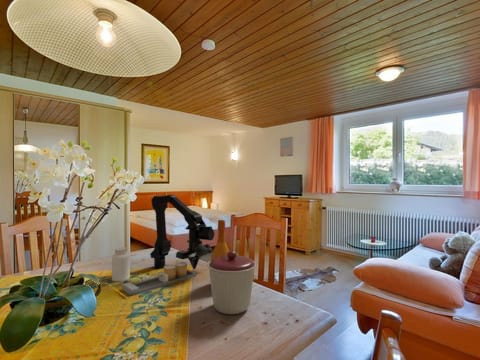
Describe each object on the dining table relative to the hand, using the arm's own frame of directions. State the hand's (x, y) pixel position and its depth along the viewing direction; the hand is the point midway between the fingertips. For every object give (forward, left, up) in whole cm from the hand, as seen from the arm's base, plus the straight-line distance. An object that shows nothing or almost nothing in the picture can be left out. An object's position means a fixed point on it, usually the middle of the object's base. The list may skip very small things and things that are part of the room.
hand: (194, 269), depth 134 cm
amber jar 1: (0, -14, -2) cm, 14 cm away
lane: (0, -18, -3) cm, 18 cm away
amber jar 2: (0, -8, -2) cm, 8 cm away
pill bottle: (-19, -29, -3) cm, 35 cm away
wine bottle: (+22, -1, -3) cm, 22 cm away
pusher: (0, -23, -2) cm, 23 cm away
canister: (+40, -12, -3) cm, 42 cm away
